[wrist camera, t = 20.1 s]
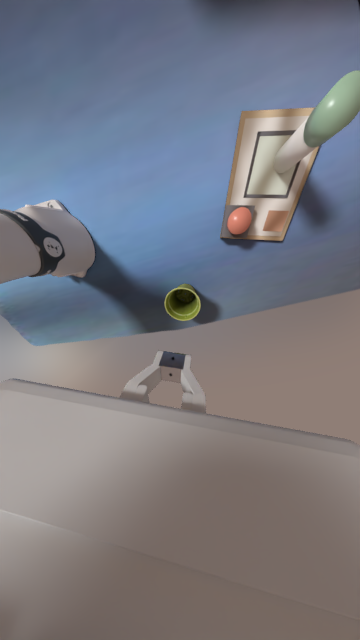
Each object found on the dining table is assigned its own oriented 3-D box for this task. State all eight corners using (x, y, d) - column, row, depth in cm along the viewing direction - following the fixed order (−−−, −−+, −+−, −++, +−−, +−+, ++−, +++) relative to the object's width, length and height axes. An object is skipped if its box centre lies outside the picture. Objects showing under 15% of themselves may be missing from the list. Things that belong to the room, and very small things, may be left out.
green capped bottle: (269, 174, 25) (313, 133, 15) (278, 142, 23) (335, 72, 13) (290, 174, 25) (350, 132, 15) (301, 142, 23) (379, 68, 13)
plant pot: (206, 286, 39) (207, 297, 32) (193, 311, 44) (191, 325, 37) (177, 272, 38) (171, 281, 31) (167, 299, 43) (160, 312, 36)
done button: (224, 233, 30) (225, 233, 28) (229, 208, 27) (231, 206, 26) (245, 234, 29) (247, 234, 28) (251, 208, 27) (254, 207, 25)
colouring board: (219, 237, 32) (221, 238, 30) (240, 114, 23) (244, 102, 21) (280, 240, 31) (286, 240, 29) (331, 110, 21) (344, 97, 19)
